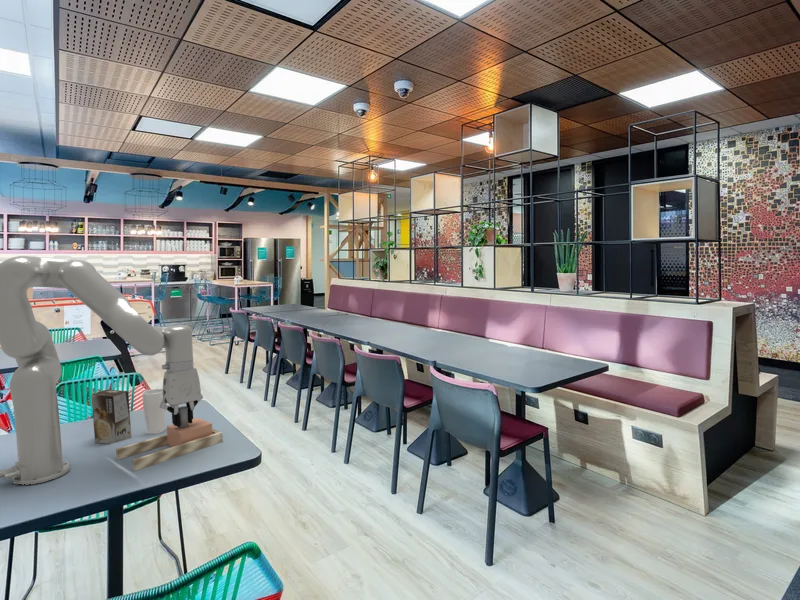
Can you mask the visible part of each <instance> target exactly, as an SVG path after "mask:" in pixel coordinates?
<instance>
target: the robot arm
mask: <svg viewBox="0 0 800 600" xmlns="http://www.w3.org/2000/svg"><path fill="white" fill-rule="evenodd" d="M30 288H48V289H49V288H51V289H52V288H53V289H54V288H55V289H66V290H67V292H70V293H71V294H72V295H73V296H74V297H76V298H77V299H78V300H79V301H80V302H81V303H83V304H84V305H85V306H86V307H87V308H88V309H90V310H91V312H93V313H94V314H96V316H98V317H99V318H100V319H101V320H102V321H103V322H104V324H106V325H107V326H108V327H110V328H111V329H112V331H114V332H115V334H117V335H118V336H119V337H120V338H121V339H123V341H125V342H126V343H127V344H129V345H130V346H131V347H132V348H133V349H134V350H136V351H137V352H138V353H140V354H142V355H144V356H155V355H157V354H159V353H161V351H162V350H163V349H164V350H165V363H164V364H161V369H162V370H165V371H164V374H163V379H162V380H163V381H162V389H163V399H162V401H161V404H160V406H159V408H161V409H165V411H168V412H169V413H171V421H172V425H173V424H174V425H175V426H177V427H180V426H181V423H180V414H178V407H179V405H183V404H185V406H187V407H188V423H192V419H194V410H195V407H196V406H197V404H198V403H199V402H201V401H202V400H203V399H204V396H203V394H202V391H201V382H200V377H199V373H198V369H197V367H194V352H193V350H194V349H193V330H192V328H191V326H190V325H186V324H185V325H183V324H177V325H170V326H158V325H151V324H150V323H149V322H148V321H147V320H146V319H144V318H143V317H142V316H141V314H140V313H138V312H137V311H136V310H135V309H134V307H133V306H132V304H131V303H130V301H129V300H128V298H127V297H126V296H125V295H124V294H123V293H122V292H120V290H118V289H117V287H115V286H114V285H112V283H110V281H108V280H107V279H105V278H104V276H102V275H101V274H100V273H99V271H97V270H96V268H95V266H94V265H93V264H91V263H90V262H89V261H85V260H81V259H63V258H62V259H61V258H50V257H40V256H30V255H29V256H28V255H27V256H26V255H19V256H18V255H17V256H14V257H10V258H7V259H5V260H4V261H2V262H0V348H1V351H2V352H3V353H4V355H6V356H8V357H9V358H11V359H15V361H16V364H17V367H18V368H17V369H15V371H14V372H13V374H12V375H11V377H10V381H9V393H10V396H11V402H12V406H13V417H14V424H15V438H16V446H17V447H16V448H17V449H16V450H17V458H18V460H17V461H16V462H15V463H14V465H13V466H11V467H10V468H7V469H3V470H0V479H4V480H8V479H12V480H13V481H12V480H11V481H12V483H13V482H15V483H16V484H15V483H14V484H15V485H18V484H22V485H21V486H28V485H29V484H31V485H37V483H38V484H42V483H46V482H49V480H50V481H52V479H53V480H55V479H58V478H59V477H61V476H62V477H63V476H64V475H65V474H66V473H68V472H69V471H70V470H71V465H70V462H68V461H64V460H63V459H64V458H63V447H62V435H61V434H62V433H61V420H60V419H61V418H60V411H59V409H60V408H59V401H58V394H57V383H58V381H59V380H60V378H61V377H62V366H61V365H62V364H61V362H60V361H61V360H60V358H59V356H58V352H57V349H56V345H55V343H54V340H53V337H52V335H51V332H50V330H49V329H48V328H47V326H46V325H45V324H44V323H42V322H40V321H38V320H37V319H36V317H35V314H34V311H33V307H32V305H31V302H30V300H29V298H28V294H27V293H28V290H29V289H30ZM24 484H25V485H24ZM29 486H30V485H29Z"/></svg>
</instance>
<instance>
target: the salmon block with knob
mask: <svg viewBox="0 0 800 600" xmlns="http://www.w3.org/2000/svg"><path fill="white" fill-rule="evenodd" d="M178 414H180V423H181V426H180V427H177V426H175V425H174V424H173V423H172V424H170V425H167V426H166V434H167V441H168V444H167V446H169V447H170V448H171V447H174V446H177V445H180V444H184V443H187V442H190V441H193V440H196V439H199V438H203V437H206V436H209V435H212V434H213V432H212V429H213V422H209V421H207V420H204V419H201V418H200V417H196V418H193V419H192V423H188V407H187V406H186V405H184V406H178Z"/></svg>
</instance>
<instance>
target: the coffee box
mask: <svg viewBox="0 0 800 600" xmlns="http://www.w3.org/2000/svg"><path fill="white" fill-rule="evenodd" d="M129 395H130V394H129V390H119V389H117V390H115V389H104V390H101V391H99V392H98V391H97V392H96V393H92V394H91V407H92V420H93V422H92V423H93V432H94V443H96V444H105V445H106V444H107V445H112V444H115V443H119V442H122V441H126V440H130V439H132V425H131V415H130V414H131V412H130V411H131V410H130V397H129Z"/></svg>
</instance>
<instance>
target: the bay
mask: <svg viewBox="0 0 800 600" xmlns="http://www.w3.org/2000/svg"><path fill="white" fill-rule="evenodd" d="M212 432H213V434H212V435H209V436H206V437H203V438H199V439H196V440H193V441H190V442H187V443H184V444H180V445H177V446H174V447H171V446H170V447H167V448H165V449H162V450H158V451H155V452H153V453H150V454H146V455H143V456H140V457H136V458H133V459H132V470H133V471H138V470H141V469H144V468H147V467H150V466H155V465H157V464H159V463H163V462H165V461H168V460H171V459H174V458H178V457H180V456H184V455H186V454H190V453H192V452H195V451H199V450H202V449H204V448H207V447H210V446H213V445H216V444H220V443H222V442H223V432H221V431H219V430H218V429H214V428H212ZM164 446H168V441H167V433H166V434H163V435H159V436H156V437H152V438H149V439H144V440H141V441H138V442H135V443H132V444H129V445H124V446H121V447H118V448H116V449H115V459H117V460H121V459H124V458H127V457H131V456H134V455H137V454H140V453H144V452H147V451H150V450H151V451H152V450H154V449H157V448H160V447H164Z"/></svg>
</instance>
